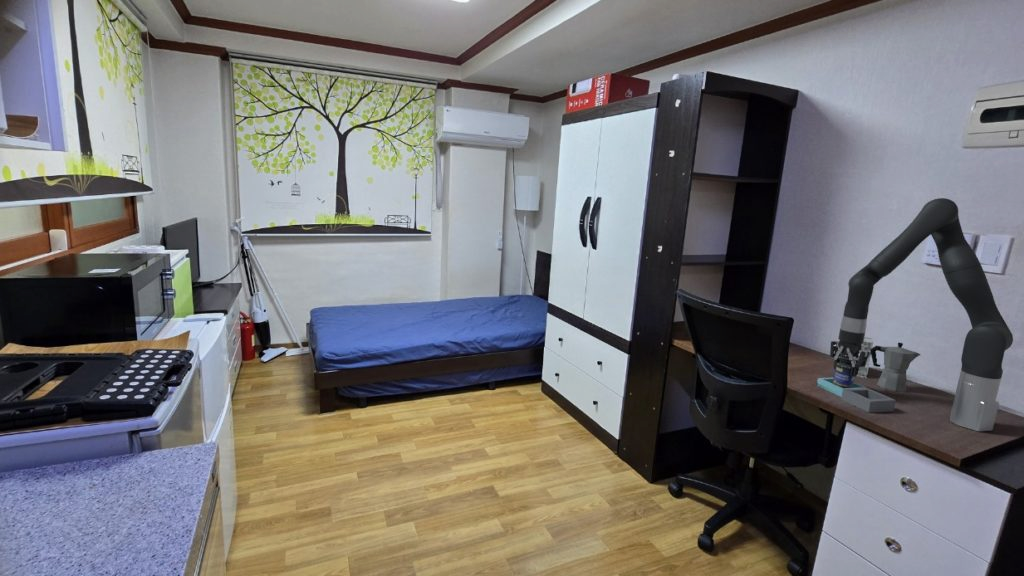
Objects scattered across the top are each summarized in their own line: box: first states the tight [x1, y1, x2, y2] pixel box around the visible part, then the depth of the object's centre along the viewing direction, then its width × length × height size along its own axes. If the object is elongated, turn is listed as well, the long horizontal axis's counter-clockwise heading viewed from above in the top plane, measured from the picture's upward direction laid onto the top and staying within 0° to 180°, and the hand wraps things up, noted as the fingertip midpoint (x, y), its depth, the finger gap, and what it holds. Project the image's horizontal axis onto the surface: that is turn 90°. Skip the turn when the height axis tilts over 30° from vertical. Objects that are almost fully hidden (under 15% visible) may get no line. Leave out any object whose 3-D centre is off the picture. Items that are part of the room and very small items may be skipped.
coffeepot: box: [870, 342, 921, 393], centre depth 183 cm, size 15×9×18 cm, turn 67°
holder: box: [840, 387, 897, 414], centre depth 165 cm, size 10×10×4 cm
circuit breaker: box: [853, 336, 874, 379], centre depth 200 cm, size 8×14×15 cm, turn 146°
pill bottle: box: [833, 356, 855, 388], centre depth 177 cm, size 6×6×11 cm
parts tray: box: [816, 377, 867, 398], centre depth 178 cm, size 11×11×3 cm
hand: (844, 372), depth 177 cm, fingers closed on pill bottle, 6 cm apart
